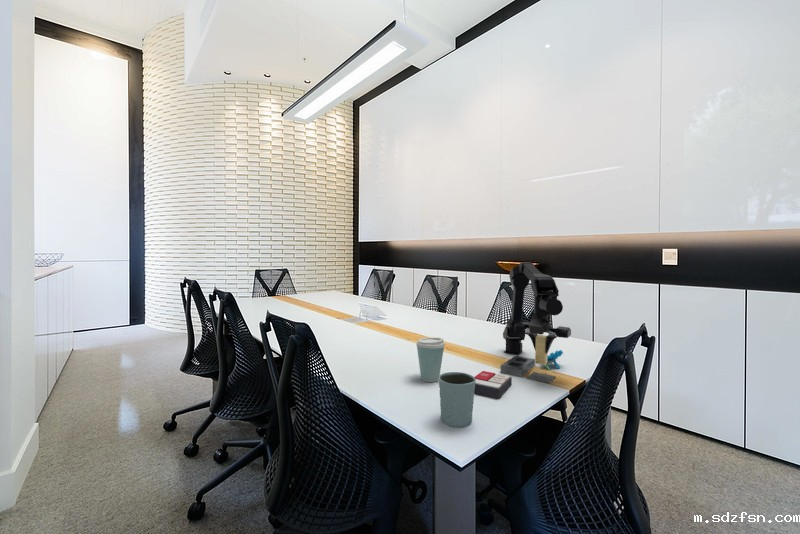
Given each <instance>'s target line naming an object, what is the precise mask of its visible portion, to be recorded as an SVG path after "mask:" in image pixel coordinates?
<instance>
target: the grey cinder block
mask: <svg viewBox="0 0 800 534" xmlns="http://www.w3.org/2000/svg"><path fill="white" fill-rule="evenodd" d="M534 366H535V367H536V363H535V358H531V357H525V356H521V355H520V356H519V355H514V356H513V357H511V358H510V359H508V360H506V361H504V362H503V363H502V364H500V374H503V375H508V376H512V377H517V378H523V377H524V376H525V375H526V374H527V373H528V371H529V370H530V371H531V370H532V369H534V368H535V367H534ZM530 371H529V372H530Z"/></svg>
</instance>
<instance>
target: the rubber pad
mask: <svg viewBox="0 0 800 534" xmlns="http://www.w3.org/2000/svg"><path fill="white" fill-rule="evenodd" d="M556 377H557V376H556V375H552V374H547V373H542V372H538V371H533V372H532V373H530V374H529V375H528V376H526V379H527V380H531V381H535V380H536V381H535V382H541V383H546V384H550V382H553V380H554V379H556Z"/></svg>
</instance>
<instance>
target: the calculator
mask: <svg viewBox="0 0 800 534" xmlns="http://www.w3.org/2000/svg"><path fill="white" fill-rule="evenodd" d="M473 377H474V378H475V379H476V382H475V390H474V395H477V396H481V397H484V398H489V399H495V400H501V398H502V397H503V396H502V395H504V394H505V393H506V392H507V391H508V390H509V389H508V388H510V387H511V386H512V385H513V383H512V380H513V378H512V377H511V375H508V374H503V373H495V372H491V371H485V370H482V371H481V372H479V373H477V374H476V375H475V376H473Z"/></svg>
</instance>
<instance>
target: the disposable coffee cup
mask: <svg viewBox="0 0 800 534" xmlns="http://www.w3.org/2000/svg"><path fill="white" fill-rule="evenodd" d="M445 344H446V343H445V341H444V338H443V337H435V336H434V337H433V336H432V337H431V336H430V337H423V338H419V339H418V340H417V341H416V348H417V357H418V364H419V365H418V366H419V372H420V378H421V380H422V381H423V382H427V383H433V382H437V381H438V382H439V376H440V375H441V368H442V363H443V355H444V348H445V346H446V345H445Z"/></svg>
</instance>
